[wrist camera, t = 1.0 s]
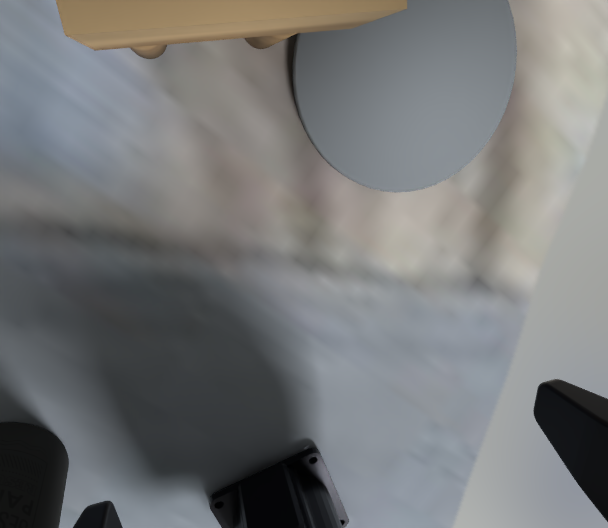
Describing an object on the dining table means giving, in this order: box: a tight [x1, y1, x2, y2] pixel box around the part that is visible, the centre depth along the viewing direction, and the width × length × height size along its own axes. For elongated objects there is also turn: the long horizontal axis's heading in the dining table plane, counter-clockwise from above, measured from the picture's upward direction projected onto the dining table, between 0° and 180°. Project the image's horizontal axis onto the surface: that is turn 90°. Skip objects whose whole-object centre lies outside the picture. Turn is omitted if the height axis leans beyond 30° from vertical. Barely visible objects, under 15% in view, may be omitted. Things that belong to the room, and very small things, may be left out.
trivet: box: [293, 0, 517, 192], centre depth 19 cm, size 10×10×1 cm
